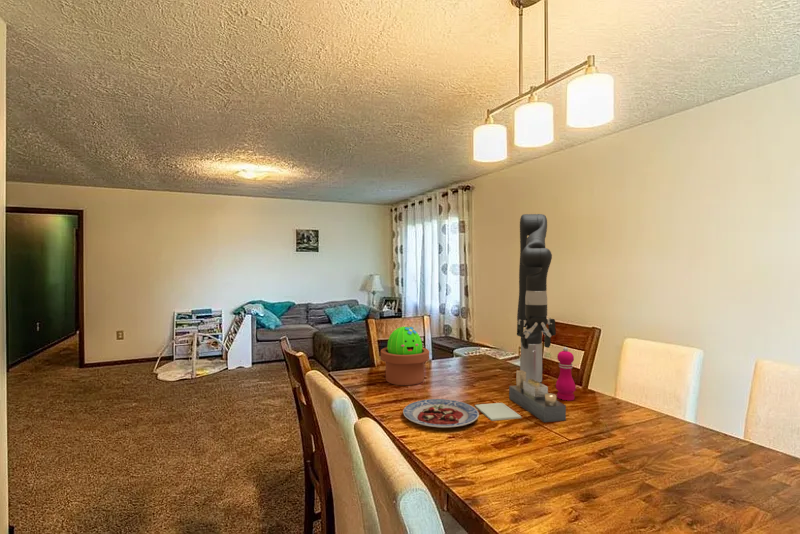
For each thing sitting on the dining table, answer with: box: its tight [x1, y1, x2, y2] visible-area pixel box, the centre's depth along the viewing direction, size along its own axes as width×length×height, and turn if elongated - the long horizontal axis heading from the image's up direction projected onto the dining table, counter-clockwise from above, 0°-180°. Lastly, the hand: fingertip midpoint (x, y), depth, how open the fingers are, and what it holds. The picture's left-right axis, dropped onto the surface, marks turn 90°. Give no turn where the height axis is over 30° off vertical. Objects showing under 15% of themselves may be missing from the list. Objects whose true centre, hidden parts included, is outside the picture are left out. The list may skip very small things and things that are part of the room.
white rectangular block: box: [523, 379, 549, 398], centre depth 143 cm, size 8×5×5 cm, turn 12°
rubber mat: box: [474, 402, 522, 421], centre depth 140 cm, size 14×11×1 cm
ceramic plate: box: [402, 398, 480, 429], centre depth 135 cm, size 26×26×3 cm
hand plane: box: [508, 369, 567, 423], centre depth 143 cm, size 24×8×11 cm, turn 12°
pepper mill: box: [555, 346, 577, 402], centre depth 155 cm, size 7×7×20 cm
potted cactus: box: [380, 325, 430, 386], centre depth 180 cm, size 22×22×25 cm
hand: (536, 347), depth 143 cm, fingers open, 8 cm apart
